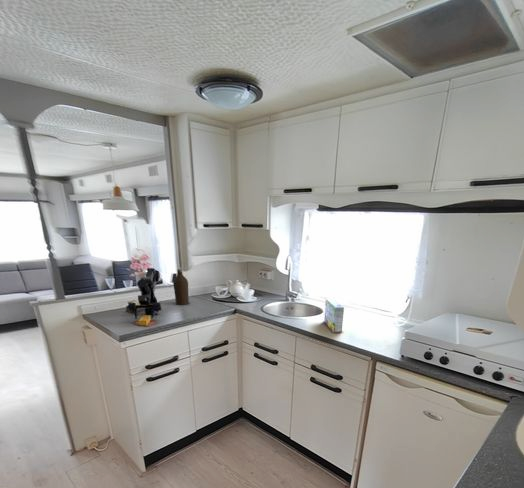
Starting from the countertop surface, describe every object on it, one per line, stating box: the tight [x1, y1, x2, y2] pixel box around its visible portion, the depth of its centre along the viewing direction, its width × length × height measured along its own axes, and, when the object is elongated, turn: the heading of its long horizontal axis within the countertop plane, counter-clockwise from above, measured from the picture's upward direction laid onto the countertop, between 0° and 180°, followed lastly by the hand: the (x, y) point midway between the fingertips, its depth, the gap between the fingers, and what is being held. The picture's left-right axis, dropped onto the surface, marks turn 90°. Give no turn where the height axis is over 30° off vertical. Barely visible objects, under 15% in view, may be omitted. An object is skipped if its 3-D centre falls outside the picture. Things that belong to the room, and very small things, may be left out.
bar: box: [138, 314, 151, 326], centre depth 196 cm, size 11×4×3 cm, turn 7°
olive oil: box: [172, 268, 190, 306], centre depth 238 cm, size 11×11×25 cm
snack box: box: [323, 298, 345, 333], centre depth 193 cm, size 21×6×15 cm, turn 5°
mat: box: [133, 320, 157, 327], centre depth 197 cm, size 11×8×1 cm
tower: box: [125, 299, 143, 314], centre depth 220 cm, size 7×7×7 cm
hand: (143, 318), depth 195 cm, fingers open, 9 cm apart
